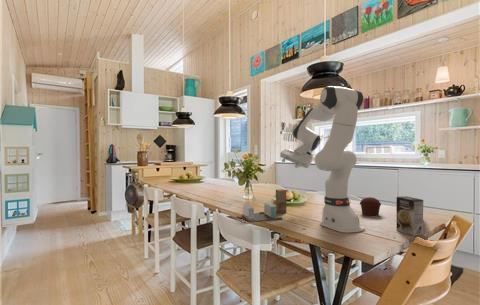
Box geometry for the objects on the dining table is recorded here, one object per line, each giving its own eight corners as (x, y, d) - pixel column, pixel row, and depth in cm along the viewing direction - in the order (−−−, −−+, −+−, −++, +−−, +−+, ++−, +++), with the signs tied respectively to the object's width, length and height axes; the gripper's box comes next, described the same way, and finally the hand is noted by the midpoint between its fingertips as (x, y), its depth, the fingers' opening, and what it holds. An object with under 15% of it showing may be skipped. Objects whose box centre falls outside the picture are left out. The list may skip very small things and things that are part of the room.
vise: (282, 219, 150) (282, 207, 150) (248, 222, 146) (248, 209, 146) (272, 212, 166) (272, 201, 166) (241, 215, 161) (241, 203, 161)
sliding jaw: (275, 217, 151) (275, 206, 151) (270, 218, 151) (270, 206, 151) (268, 212, 163) (268, 202, 163) (264, 213, 162) (263, 202, 162)
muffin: (367, 217, 151) (367, 200, 151) (355, 213, 162) (355, 196, 162) (385, 216, 154) (385, 199, 154) (372, 211, 165) (372, 195, 165)
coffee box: (395, 230, 128) (395, 196, 128) (405, 228, 130) (405, 195, 130) (413, 236, 119) (413, 200, 119) (423, 234, 121) (423, 199, 121)
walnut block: (286, 212, 165) (286, 190, 165) (278, 213, 164) (278, 190, 164) (283, 211, 170) (283, 189, 170) (276, 211, 169) (275, 189, 169)
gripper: (286, 144, 178) (275, 153, 169) (315, 155, 167) (304, 166, 158) (286, 152, 181) (274, 161, 173) (313, 163, 171) (303, 174, 162)
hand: (289, 163), depth 165 cm, fingers open, 8 cm apart
